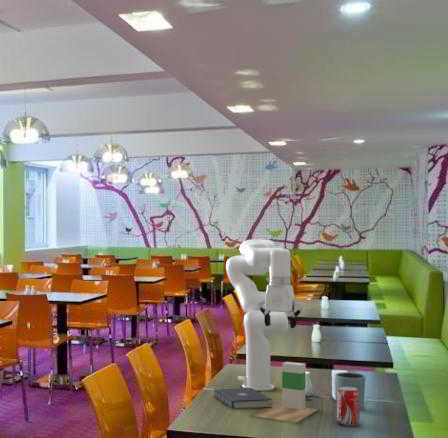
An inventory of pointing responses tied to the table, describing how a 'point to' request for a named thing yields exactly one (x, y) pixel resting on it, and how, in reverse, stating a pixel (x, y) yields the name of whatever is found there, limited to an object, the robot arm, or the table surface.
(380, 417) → the table surface
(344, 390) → the soda can
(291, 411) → the mat
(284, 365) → the packet
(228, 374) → the table surface
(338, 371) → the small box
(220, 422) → the table surface
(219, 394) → the book
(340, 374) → the grey cup
